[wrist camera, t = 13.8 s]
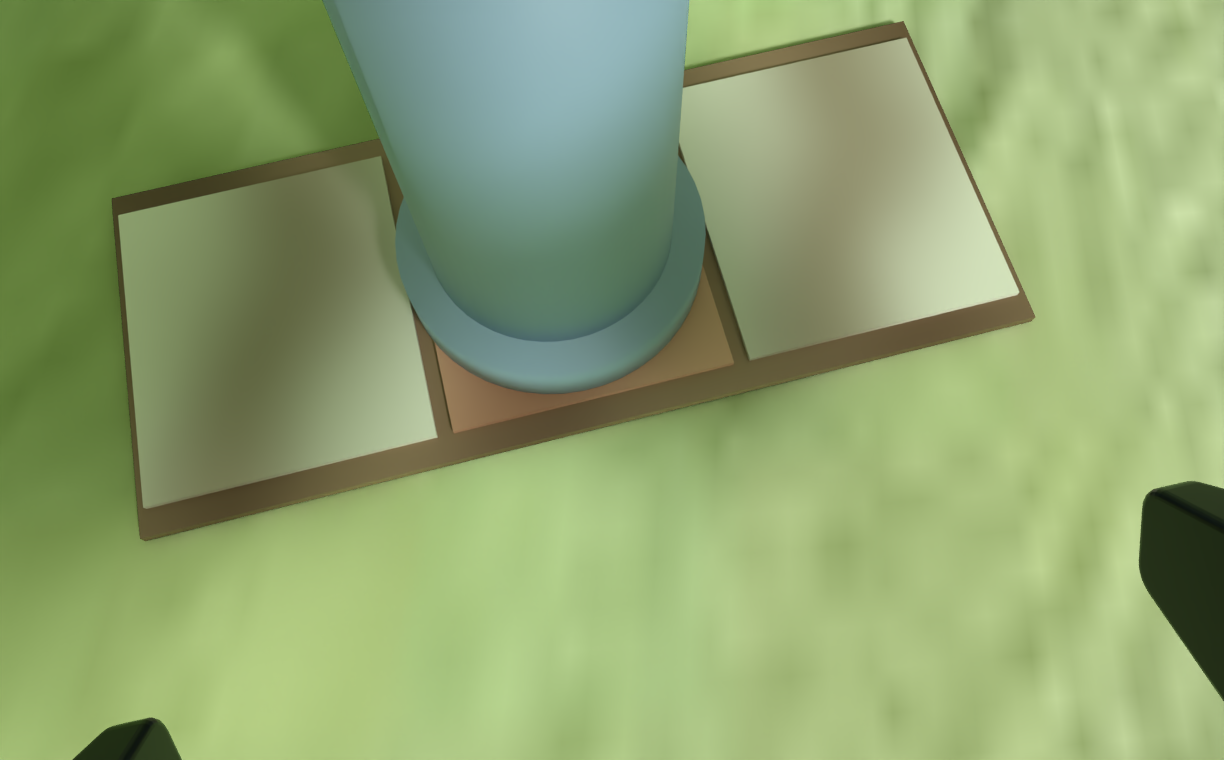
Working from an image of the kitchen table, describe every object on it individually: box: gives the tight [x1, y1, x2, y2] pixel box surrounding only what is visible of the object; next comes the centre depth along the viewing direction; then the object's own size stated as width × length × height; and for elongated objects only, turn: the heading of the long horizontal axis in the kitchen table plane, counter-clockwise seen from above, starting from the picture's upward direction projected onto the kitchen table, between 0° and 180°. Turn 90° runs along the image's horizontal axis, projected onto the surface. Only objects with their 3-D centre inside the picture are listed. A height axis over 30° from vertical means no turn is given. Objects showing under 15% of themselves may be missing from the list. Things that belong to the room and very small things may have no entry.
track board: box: [112, 21, 1035, 541], centre depth 19 cm, size 16×7×1 cm, turn 104°
